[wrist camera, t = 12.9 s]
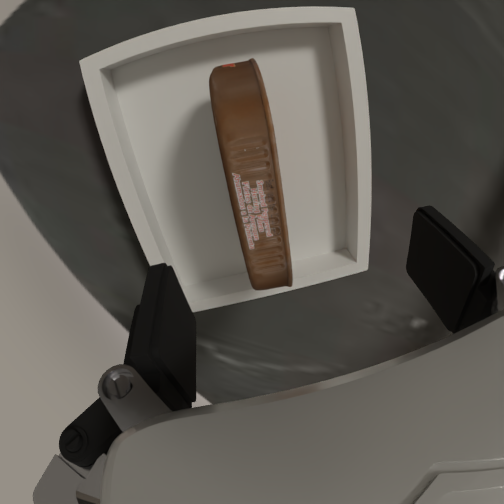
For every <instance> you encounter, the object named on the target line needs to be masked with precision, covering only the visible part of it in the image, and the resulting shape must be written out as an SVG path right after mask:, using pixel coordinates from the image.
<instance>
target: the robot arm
mask: <svg viewBox="0 0 504 504" xmlns="http://www.w3.org/2000/svg"><path fill="white" fill-rule="evenodd" d="M494 265H495V263H494V262H493V261H492V260H491V259H490V258H489V257H488V256H487V255H486V254H485V253H484V252H483V251H482V250H481V249H480V248H479V247H478V246H477V245H476V244H474V243H473V242H472V241H471V240H470V239H469V238H468V237H467V236H466V235H465V234H464V233H463V232H461V231H460V230H459V229H458V228H457V227H456V226H455V225H454V224H452V223H451V222H450V221H449V220H448V219H447V218H445V217H444V216H443V215H442V214H441V213H439V212H438V211H437V210H436V209H435V208H433V207H432V206H425V207H420V208H418V209H417V210H416V212H415V213H414V216H413V224H412V232H411V239H410V246H409V252H408V258H407V264H406V270H407V273H408V275H409V276H410V277H411V279H412V280H413V281H414V283H415V284H416V285H417V287H418V288H419V289H420V291H421V292H422V293H423V295H424V296H425V298H426V299H427V300H428V302H429V303H430V305H431V306H432V307H433V309H434V310H435V312H436V313H437V315H438V316H439V317H440V319H441V320H442V322H443V323H444V325H445V326H446V328H447V329H448V330H449V331H452V333H453V334H452V335H450V336H448V337H446V338H444V339H441V340H439V341H437V342H434V343H432V344H430V345H427V346H425V347H422V348H420V349H418V350H415V351H413V352H410V353H407V354H405V355H402V356H400V357H397V358H394V359H392V360H389V361H386V362H383V363H380V364H377V365H375V366H372V367H369V368H366V369H362V370H359V371H356V372H353V373H350V374H346V375H343V376H340V377H336V378H333V379H329V380H326V381H322V382H318V383H315V384H311V385H307V386H303V387H299V388H295V389H291V390H286V391H282V392H277V393H272V394H268V395H263V396H258V397H253V398H247V399H242V400H237V401H231V402H225V403H219V404H213V405H206V406H201V407H195V408H192V402H195V401H196V321H195V317H194V315H193V312H192V310H191V308H190V306H189V304H188V301H187V299H186V297H185V295H184V292H183V290H182V288H181V285H180V283H179V281H178V279H177V276H176V274H175V271H174V269H173V267H172V266H171V265H170V266H167V264H166V263H160V264H156V265H152V266H150V267H149V270H148V274H147V278H146V282H145V286H144V290H143V294H142V299H141V303H140V304H139V305H137V306H136V308H135V311H134V316H133V320H132V325H131V329H130V334H129V339H128V344H127V349H126V354H125V359H124V364H123V365H122V364H119V365H116V366H113V367H111V368H110V369H108V370H107V371H106V372H105V373H104V374H103V375H102V377H101V378H100V381H99V384H98V394H99V396H100V398H99V399H97V400H96V401H95V402H94V403H93V404H92V405H91V406H90V407H88V408H87V409H86V410H85V411H84V412H83V413H82V414H81V415H80V416H79V417H77V419H75V420H74V421H73V422H72V423H71V424H70V425H69V426H67V427H66V428H65V430H64V431H63V432H62V434H61V436H60V440H59V449H60V452H61V453H60V454H59V456H58V455H54V457H53V459H52V461H51V462H50V464H49V466H48V467H47V469H46V471H45V472H44V474H43V475H42V478H41V479H40V481H39V482H38V484H37V486H36V487H35V490H34V492H33V501H34V504H504V266H501V267H499V268H497V270H496V272H494V271H493V267H494Z"/></svg>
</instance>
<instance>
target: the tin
mask: <svg viewBox="0 0 504 504" xmlns="http://www.w3.org/2000/svg"><path fill="white" fill-rule="evenodd" d="M209 91H210V99H211V107H212V112H213V118H214V124H215V129H216V134H217V139H218V145H219V150H220V155H221V159H222V164H223V169H224V173H225V178H226V183H227V188H228V192H229V197H230V201H231V206H232V210H233V215H234V219H235V224H236V228H237V232H238V236H239V240H240V245H241V249H242V253H243V256H244V260H245V265H246V269H247V273H248V276H249V280H250V283H251V286H252V288H253V289H254V290H257V291H258V290H268V289H273V288H279V287H284V286H288V287H292V284H293V274H292V262H291V253H290V244H289V235H288V227H287V219H286V212H285V203H284V196H283V188H282V180H281V173H280V166H279V159H278V151H277V144H276V138H275V131H274V125H273V121H272V115H271V111H270V106H269V101H268V97H267V93H266V89H265V86H264V82H263V78H262V75H261V72H260V69H259V66H258V64H257V62H256V61H255V59H254V58H251V59H249V60H248V61H242V62H237V63H231V64H225V65H221V66H217V67H215V68H213V70H212V73H211V75H210V78H209Z"/></svg>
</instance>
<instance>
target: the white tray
mask: <svg viewBox="0 0 504 504" xmlns="http://www.w3.org/2000/svg"><path fill="white" fill-rule="evenodd" d="M251 58H254V59H255V61H256V62H257V64H258V66H259V69H260V72H261V75H262V78H263V82H264V86H265V89H266V93H267V97H268V101H269V106H270V111H271V115H272V121H273V125H274V131H275V138H276V144H277V151H278V159H279V166H280V173H281V180H282V188H283V196H284V203H285V212H286V219H287V227H288V235H289V244H290V253H291V262H292V274H293V284H292V287H288V286H284V287H279V288H273V289H268V290H258V291H257V290H254V289H253V288H252V286H251V283H250V280H249V276H248V273H247V269H246V265H245V260H244V256H243V253H242V249H241V245H240V240H239V236H238V232H237V228H236V224H235V219H234V215H233V210H232V206H231V201H230V197H229V192H228V188H227V183H226V178H225V173H224V169H223V164H222V159H221V155H220V150H219V145H218V139H217V134H216V129H215V124H214V118H213V112H212V107H211V99H210V91H209V78H210V75H211V73H212V70H213V68H215V67H217V66H221V65H225V64H231V63H237V62H242V61H248V60H249V59H251ZM79 62H80V66H81V71H82V75H83V79H84V83H85V87H86V91H87V94H88V98H89V102H90V105H91V109H92V112H93V116H94V119H95V122H96V126H97V129H98V132H99V135H100V139H101V142H102V145H103V148H104V151H105V154H106V157H107V160H108V163H109V165H110V168H111V171H112V174H113V177H114V179H115V182H116V185H117V187H118V190H119V193H120V195H121V198H122V201H123V203H124V206H125V208H126V211H127V213H128V216H129V218H130V221H131V223H132V225H133V228H134V230H135V233H136V235H137V237H138V240H139V242H140V244H141V246H142V249H143V251H144V253H145V255H146V258H147V260H148V262H149V264H150V266H152V265H156V264H160V263H166V264H167V266H170V265H171V266H172V267H173V269H174V271H175V274H176V276H177V279H178V281H179V283H180V285H181V288H182V290H183V292H184V295H185V297H186V299H187V301H188V304H189V306H190V308H191V310H192V312H197V311H202V310H207V309H211V308H216V307H221V306H225V305H230V304H234V303H239V302H243V301H248V300H252V299H256V298H261V297H265V296H269V295H273V294H277V293H282V292H286V291H290V290H294V289H298V288H302V287H306V286H310V285H313V284H317V283H321V282H325V281H329V280H333V279H336V278H340V277H344V276H347V275H351V274H355V273H358V272H362V271H366V270H368V260H369V245H370V226H371V142H370V123H369V109H368V97H367V87H366V78H365V69H364V62H363V54H362V48H361V41H360V35H359V30H358V24H357V19H356V14H355V9H354V8H345V7H287V8H272V9H261V10H252V11H244V12H237V13H231V14H225V15H219V16H214V17H208V18H204V19H199V20H194V21H190V22H186V23H182V24H178V25H174V26H171V27H167V28H164V29H160V30H157V31H154V32H151V33H147V34H144V35H141V36H138V37H136V38H133V39H130V40H127V41H125V42H122V43H119V44H117V45H114V46H112V47H109V48H107V49H104V50H102V51H100V52H97V53H95V54H93V55H91V56H89V57H86V58H84V59H82V60H80V61H79Z"/></svg>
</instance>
